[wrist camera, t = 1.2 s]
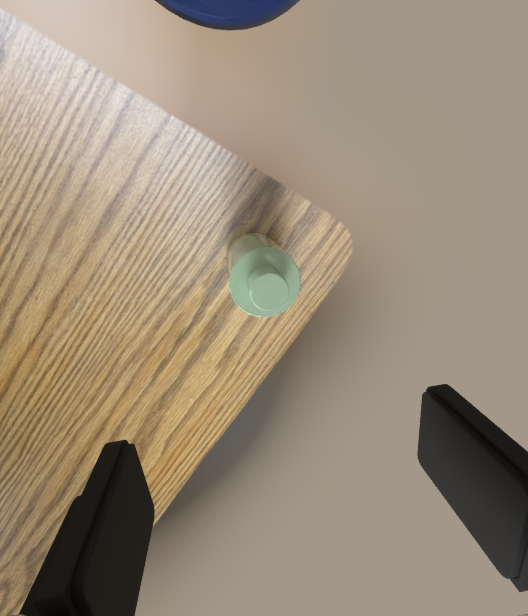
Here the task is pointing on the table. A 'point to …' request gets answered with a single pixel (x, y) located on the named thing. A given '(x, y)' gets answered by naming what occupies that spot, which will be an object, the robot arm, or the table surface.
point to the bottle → (261, 276)
